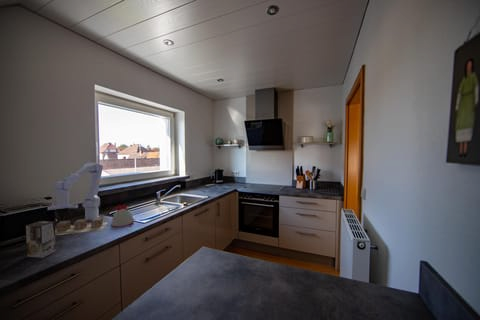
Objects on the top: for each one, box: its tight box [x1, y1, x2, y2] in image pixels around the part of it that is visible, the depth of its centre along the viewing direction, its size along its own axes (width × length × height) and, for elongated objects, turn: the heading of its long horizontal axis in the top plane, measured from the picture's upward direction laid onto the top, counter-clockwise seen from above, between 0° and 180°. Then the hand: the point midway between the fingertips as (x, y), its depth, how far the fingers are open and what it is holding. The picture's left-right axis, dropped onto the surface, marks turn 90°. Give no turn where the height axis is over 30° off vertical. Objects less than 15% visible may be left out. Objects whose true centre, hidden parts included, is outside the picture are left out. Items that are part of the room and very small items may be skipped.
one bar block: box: [73, 218, 88, 230], centre depth 121 cm, size 5×5×5 cm
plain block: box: [55, 220, 71, 232], centre depth 118 cm, size 5×5×5 cm
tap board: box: [55, 221, 110, 236], centre depth 121 cm, size 16×28×1 cm, turn 113°
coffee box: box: [25, 220, 57, 259], centre depth 92 cm, size 9×6×16 cm
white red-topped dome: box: [110, 204, 135, 228], centre depth 131 cm, size 14×14×15 cm
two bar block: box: [90, 217, 104, 228], centre depth 125 cm, size 5×5×5 cm
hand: (63, 219), depth 118 cm, fingers closed
